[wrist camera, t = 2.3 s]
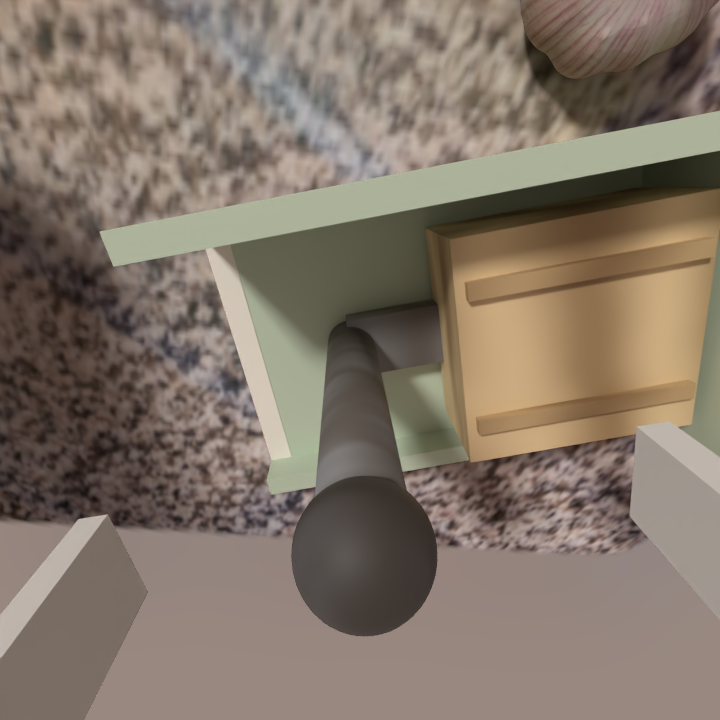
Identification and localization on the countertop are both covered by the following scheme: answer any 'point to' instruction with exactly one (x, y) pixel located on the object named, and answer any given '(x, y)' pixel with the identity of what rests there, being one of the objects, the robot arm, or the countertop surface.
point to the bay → (401, 273)
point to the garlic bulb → (608, 31)
